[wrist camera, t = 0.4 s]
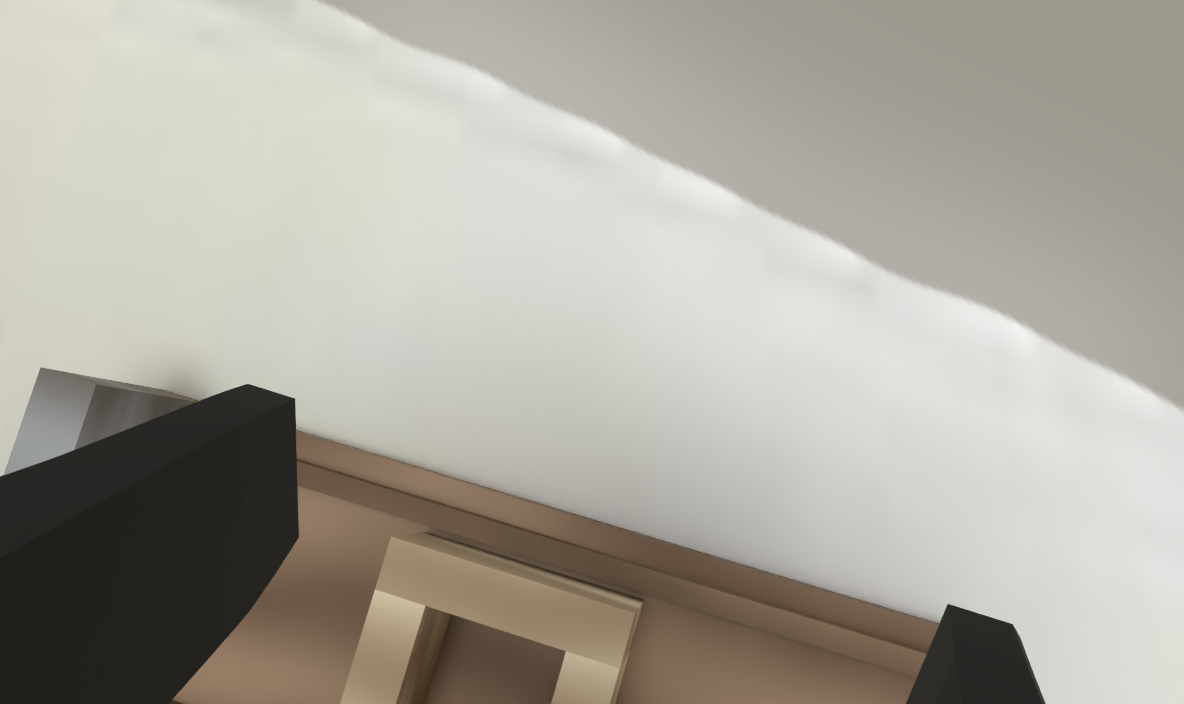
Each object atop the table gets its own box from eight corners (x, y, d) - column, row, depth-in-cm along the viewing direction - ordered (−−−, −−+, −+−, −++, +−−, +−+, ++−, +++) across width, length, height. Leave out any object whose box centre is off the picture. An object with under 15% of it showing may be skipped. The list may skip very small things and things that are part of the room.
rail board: (856, 984, 34) (892, 1113, 27) (59, 697, 39) (-89, 744, 32) (946, 626, 35) (1003, 660, 28) (161, 389, 40) (40, 367, 33)
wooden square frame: (579, 834, 34) (560, 878, 31) (358, 757, 36) (313, 790, 32) (644, 599, 35) (634, 613, 31) (426, 531, 36) (390, 536, 33)
